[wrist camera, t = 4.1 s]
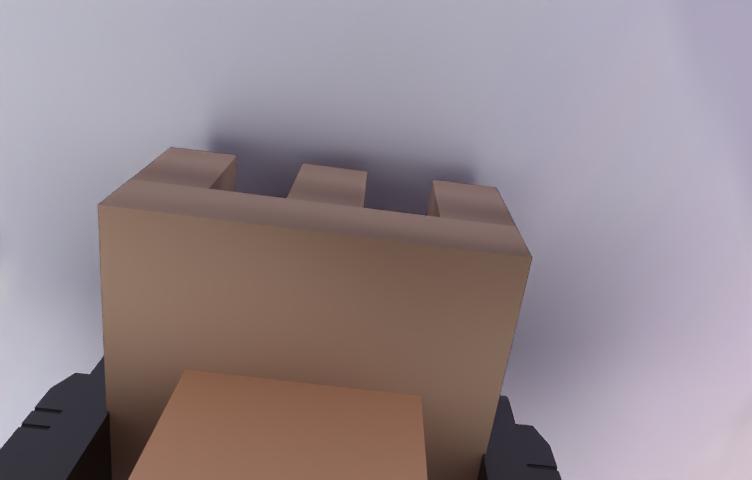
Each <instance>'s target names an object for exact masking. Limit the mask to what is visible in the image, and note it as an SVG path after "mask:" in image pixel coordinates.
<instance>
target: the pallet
mask: <svg viewBox="0 0 752 480" xmlns="http://www.w3.org/2000/svg"><path fill="white" fill-rule="evenodd" d="M236 167H237V155H231V154H223V153H215V152H207V151H199V150H191V149H183V148H175V147H171V148H169V149H168V150H167V151H165V152H164V153H163V154H162V155H160V156H159V157H158V158H157V159H155V160H154V161H153V162H151V163H150V164H149V165H148V166H146V167H145V168H144V169H143V170H141V171H140V172H139V173H137V174H136V175H135V176H134V177H132V178H131V179H130V180H129V181H127V182H126V183H125V184H123V185H122V186H121V187H120V188H118V189H117V190H116V191H115V192H113V193H112V194H111V195H109V196H108V197H107V198H106V199H104V200H103V201H102V202H101V203H99V204H98V221H99V245H100V269H101V293H102V317H103V341H104V365H105V389H106V412H109V416H110V441H111V467H112V480H128V479H129V477H130V475H131V473H132V471H133V469H134V467H135V465H136V464H137V462H138V460H139V458H140V456H141V454H142V452H143V450H144V448H145V446H146V444H147V442H148V440H149V438H150V436H151V435H152V433H153V431H154V429H155V427H156V425H157V423H158V421H159V419H160V417H161V415H162V413H163V411H164V409H165V407H166V406H167V404H168V402H169V400H170V398H171V396H172V394H173V392H174V390H175V388H176V386H177V384H178V382H179V380H180V378H181V377H182V375H183V373H184V371H185V369H186V370H195V371H204V372H213V373H221V374H230V375H239V376H248V377H257V378H266V379H274V380H283V381H292V382H301V383H310V384H319V385H328V386H336V387H345V388H354V389H363V390H372V391H381V392H389V393H398V394H407V395H416V396H421V402H422V414H423V427H424V440H425V453H426V466H427V479H428V480H477V477H478V473H479V469H480V465H481V460H482V456H483V454H486V451H487V447H488V443H489V439H490V434H491V430H492V426H493V422H494V418H495V413H496V409H497V405H498V401H499V396H500V392H501V388H502V384H503V379H504V375H505V371H506V367H507V362H508V358H509V354H510V350H511V346H512V341H513V337H514V333H515V329H516V324H517V320H518V316H519V312H520V307H521V303H522V299H523V295H524V290H525V286H526V282H527V278H528V274H529V269H530V265H531V261H532V256H531V254H530V252H529V250H528V248H527V246H526V244H525V242H524V240H523V238H522V236H521V235H520V233H519V231H518V229H517V227H516V225H515V223H514V221H513V219H512V217H511V215H510V213H509V211H508V209H507V207H506V205H505V203H504V201H503V199H502V197H501V195H500V193H499V191H498V189H497V188H495V187H487V186H479V185H471V184H463V183H455V182H447V181H439V180H432V185H431V191H430V197H429V203H428V209H427V215H419V214H410V213H402V212H394V211H386V210H378V209H370V208H364V200H365V191H366V182H367V173H368V172H367V171H359V170H351V169H343V168H335V167H327V166H319V165H311V164H303V163H302V166H301V168H300V170H299V172H298V174H297V177H296V179H295V181H294V183H293V185H292V187H291V190H290V192H289V194H288V196H287V198H281V197H272V196H264V195H256V194H248V193H240V192H235V190H236Z"/></svg>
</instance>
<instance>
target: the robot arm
mask: <svg viewBox="0 0 752 480" xmlns="http://www.w3.org/2000/svg"><path fill="white" fill-rule="evenodd" d="M0 480H112V467H111V441H110V416H109V412H106V389H105V365H104V356H103V358H102V359H101V360H100V362H99V363H98V364H97V366H96V367H95V368H94V370H93V371H92V372H91V374H81V373H75V374H73V375H71V376H70V377H68V378H66V379H65V380H63V381H62V382H60V383H58V384H57V385H55V386H53V387H52V388H50V390H49V391H48V392H47V393H46V394H45V396H44V397H43V398H42V399H41V401H40V402H39V403H38V404H37V405H36V407H35V410H34V411H32V412H31V413H30V414H29V415H28V416H27V418H26V419H25V420H24V421H23V422H22V426H21V427H18V429H17V430H16V431H15V432H14V433H13V435H12V436H11V437H10V438H9V440H8V441H7V442H6V443H5V444H4V446H3V447H2V448H1V449H0ZM477 480H561V477H560V474H559V471H557V465H556V462H555V459H554V456H553V453H552V451H551V448H550V445H549V444H548V443H547V442H546V441H545V440H544V438H543V437H542V436H541V435H540V434H539V433H538V431H537V430H536V429H535V428H534V427H533V426H529V425H520V424H515V421H514V417H513V414H512V410H511V407H510V403H509V400H508V398H507V397H506V396H501V395H500V396H499V401H498V405H497V409H496V413H495V418H494V422H493V426H492V430H491V434H490V439H489V443H488V447H487V451H486V454H483V456H482V460H481V465H480V469H479V473H478V477H477Z"/></svg>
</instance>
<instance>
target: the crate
mask: <svg viewBox="0 0 752 480" xmlns="http://www.w3.org/2000/svg"><path fill="white" fill-rule="evenodd" d="M128 480H428V479H427V466H426V453H425V440H424V427H423V414H422V402H421V396H416V395H407V394H398V393H389V392H381V391H372V390H363V389H354V388H345V387H336V386H328V385H319V384H310V383H301V382H292V381H283V380H274V379H266V378H257V377H248V376H239V375H230V374H221V373H213V372H204V371H195V370H186V369H185V371H184V373H183V375H182V377H181V378H180V380H179V382H178V384H177V386H176V388H175V390H174V392H173V394H172V396H171V398H170V400H169V402H168V404H167V406H166V407H165V409H164V411H163V413H162V415H161V417H160V419H159V421H158V423H157V425H156V427H155V429H154V431H153V433H152V435H151V436H150V438H149V440H148V442H147V444H146V446H145V448H144V450H143V452H142V454H141V456H140V458H139V460H138V462H137V464H136V465H135V467H134V469H133V471H132V473H131V475H130V477H129V479H128Z"/></svg>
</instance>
